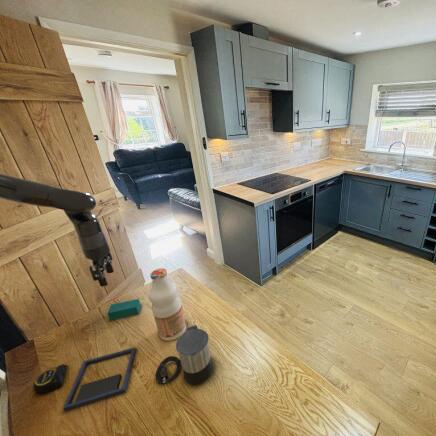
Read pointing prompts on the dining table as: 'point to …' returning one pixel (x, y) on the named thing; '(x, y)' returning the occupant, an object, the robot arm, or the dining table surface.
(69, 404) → the dark blue open frame
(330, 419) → the dining table surface
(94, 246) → the robot arm
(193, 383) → the milk frother
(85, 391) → the black pad
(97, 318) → the dining table surface
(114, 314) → the teal pad
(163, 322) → the fruit juice
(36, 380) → the tape measure
